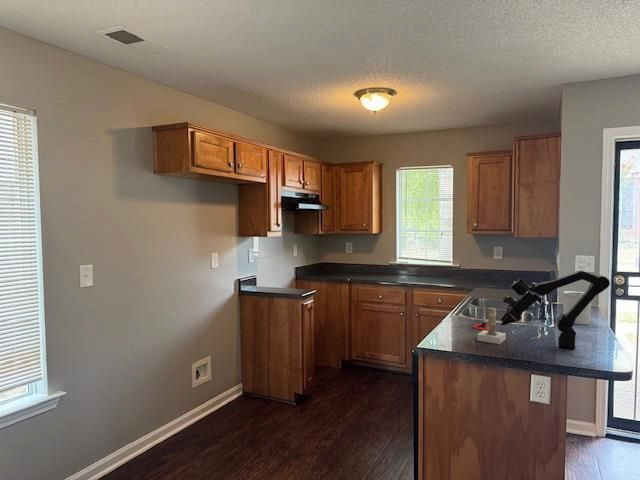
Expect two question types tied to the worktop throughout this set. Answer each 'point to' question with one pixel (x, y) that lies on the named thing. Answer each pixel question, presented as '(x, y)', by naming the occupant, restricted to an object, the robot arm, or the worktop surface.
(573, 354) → the worktop surface
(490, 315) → the pin
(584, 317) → the utensil holder
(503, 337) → the socket block
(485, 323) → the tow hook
